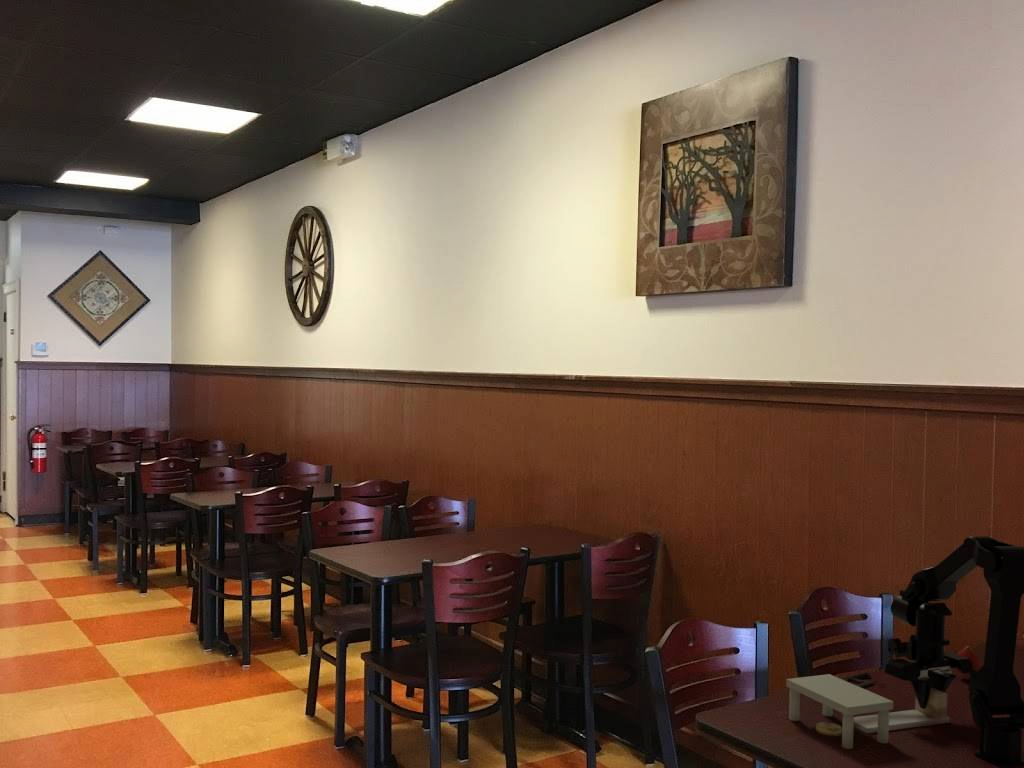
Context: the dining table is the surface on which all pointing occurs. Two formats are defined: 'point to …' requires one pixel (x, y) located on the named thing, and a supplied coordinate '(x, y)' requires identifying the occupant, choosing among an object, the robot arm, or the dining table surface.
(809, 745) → the dining table surface
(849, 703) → the miniature white bench
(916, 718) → the scraper
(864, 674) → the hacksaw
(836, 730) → the token
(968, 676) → the onion
